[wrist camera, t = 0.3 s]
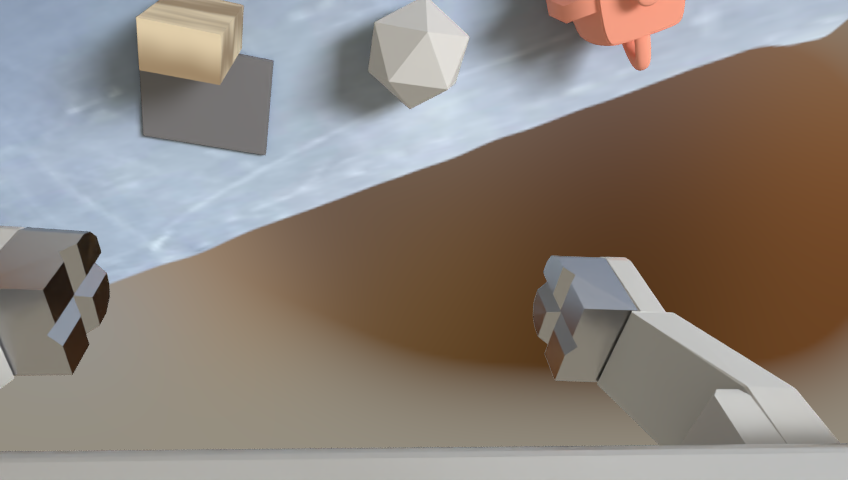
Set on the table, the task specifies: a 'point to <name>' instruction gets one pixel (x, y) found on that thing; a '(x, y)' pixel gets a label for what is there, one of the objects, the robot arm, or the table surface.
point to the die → (417, 52)
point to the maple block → (190, 38)
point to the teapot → (620, 22)
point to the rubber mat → (211, 107)
